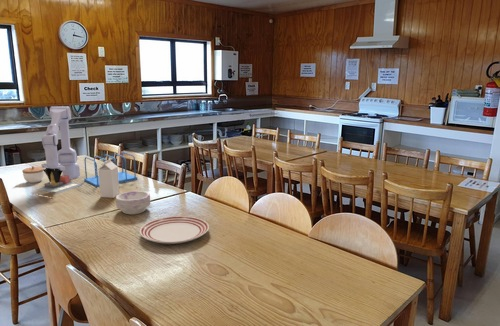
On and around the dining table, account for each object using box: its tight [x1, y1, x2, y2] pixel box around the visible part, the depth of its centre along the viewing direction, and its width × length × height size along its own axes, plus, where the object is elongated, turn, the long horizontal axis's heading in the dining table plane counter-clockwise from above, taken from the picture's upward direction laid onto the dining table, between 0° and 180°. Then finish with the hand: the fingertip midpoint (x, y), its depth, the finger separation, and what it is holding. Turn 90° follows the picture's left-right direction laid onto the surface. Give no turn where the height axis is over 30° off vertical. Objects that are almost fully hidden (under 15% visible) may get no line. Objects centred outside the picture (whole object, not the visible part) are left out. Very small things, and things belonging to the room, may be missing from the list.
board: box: [35, 181, 85, 194], centre depth 211 cm, size 18×16×1 cm
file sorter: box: [83, 151, 138, 188], centre depth 225 cm, size 25×17×15 cm
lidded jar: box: [22, 165, 45, 184], centre depth 220 cm, size 11×11×9 cm
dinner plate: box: [139, 215, 210, 245], centre depth 153 cm, size 27×27×3 cm
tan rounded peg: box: [50, 172, 59, 185], centre depth 203 cm, size 4×4×8 cm
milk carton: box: [97, 158, 120, 199], centre depth 197 cm, size 7×7×19 cm
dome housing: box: [43, 181, 64, 188], centre depth 212 cm, size 7×7×2 cm
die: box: [60, 174, 71, 184], centre depth 218 cm, size 4×4×4 cm
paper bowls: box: [115, 190, 151, 215], centre depth 177 cm, size 15×15×8 cm
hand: (54, 181), depth 203 cm, fingers closed on tan rounded peg, 4 cm apart
